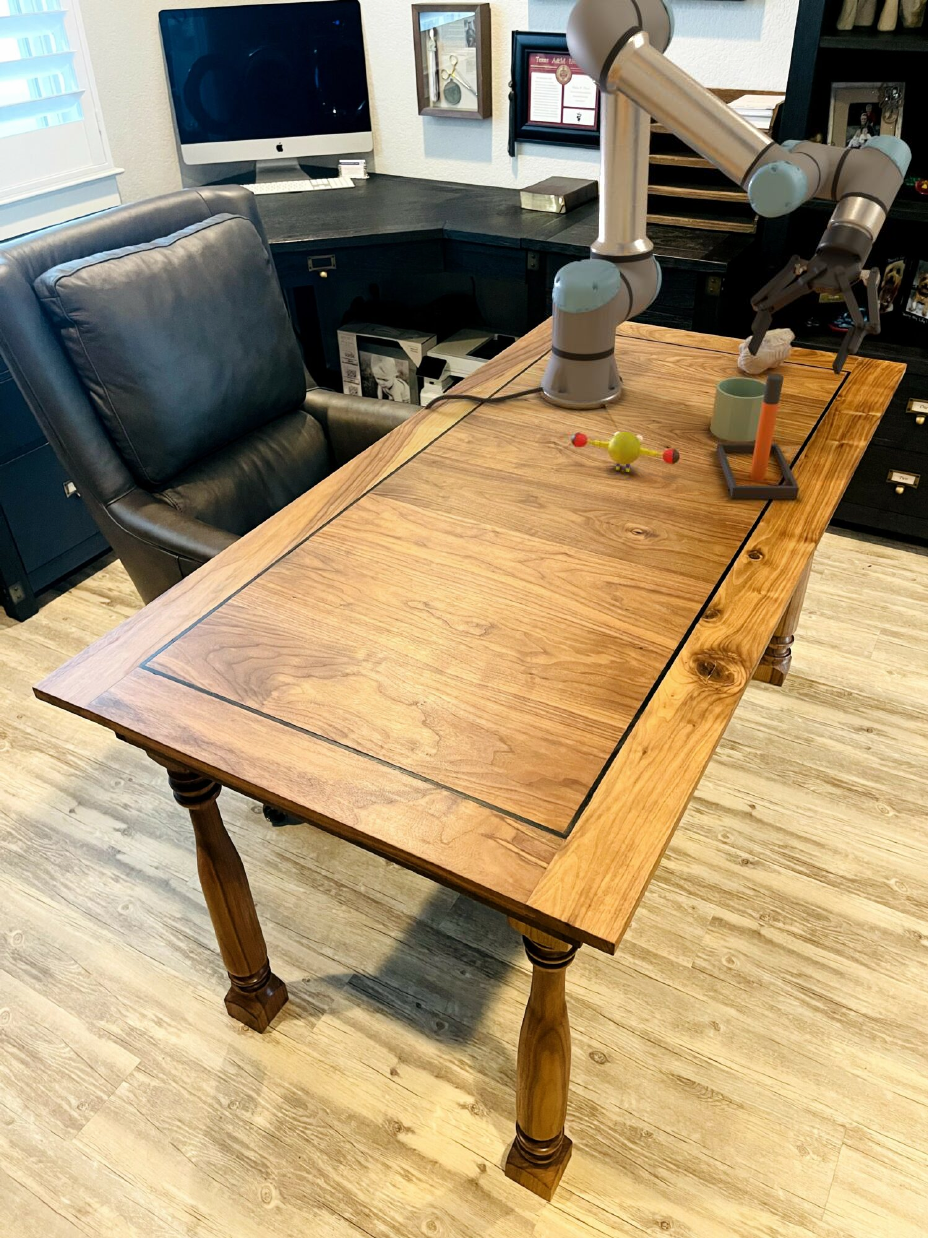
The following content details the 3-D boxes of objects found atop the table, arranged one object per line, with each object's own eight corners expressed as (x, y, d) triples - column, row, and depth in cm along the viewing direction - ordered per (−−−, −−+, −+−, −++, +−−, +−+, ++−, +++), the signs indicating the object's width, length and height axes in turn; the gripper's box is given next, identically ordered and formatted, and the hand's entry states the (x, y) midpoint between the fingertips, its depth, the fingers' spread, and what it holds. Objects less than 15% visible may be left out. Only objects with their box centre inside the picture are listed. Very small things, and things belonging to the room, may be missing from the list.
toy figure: (681, 473, 157) (686, 435, 153) (672, 488, 153) (677, 449, 149) (576, 454, 163) (578, 417, 159) (565, 468, 159) (567, 430, 155)
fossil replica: (725, 374, 190) (775, 388, 186) (734, 335, 184) (785, 348, 181) (744, 350, 197) (792, 362, 194) (753, 311, 192) (803, 323, 188)
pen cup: (719, 446, 164) (727, 400, 159) (702, 424, 171) (709, 378, 166) (770, 443, 165) (779, 396, 160) (751, 420, 172) (759, 375, 167)
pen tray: (796, 499, 149) (799, 487, 148) (731, 498, 150) (733, 487, 148) (775, 454, 161) (778, 443, 160) (715, 454, 162) (717, 443, 161)
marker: (752, 481, 153) (770, 379, 143) (747, 474, 155) (764, 373, 145) (767, 480, 153) (786, 378, 143) (761, 473, 155) (780, 372, 145)
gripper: (934, 262, 145) (875, 389, 145) (777, 238, 158) (724, 355, 158) (931, 234, 139) (870, 366, 138) (768, 211, 152) (712, 333, 152)
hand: (792, 360), depth 148 cm, fingers open, 13 cm apart
